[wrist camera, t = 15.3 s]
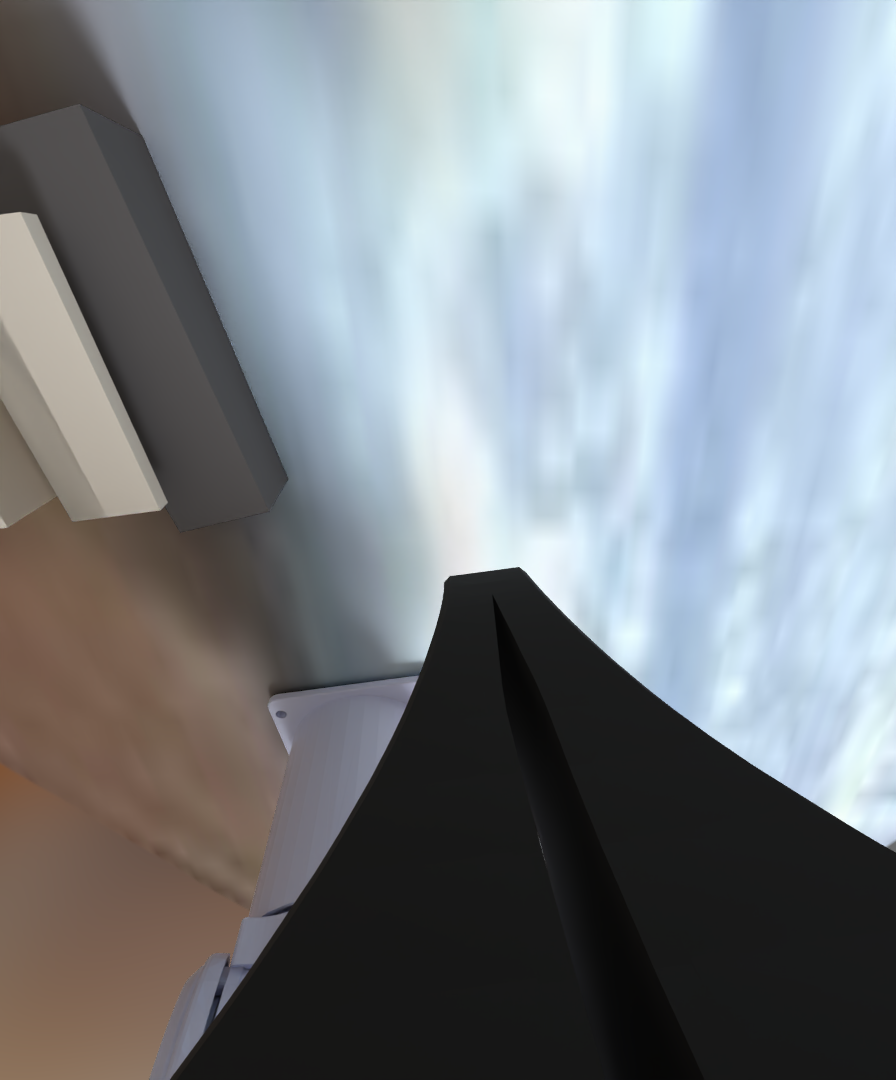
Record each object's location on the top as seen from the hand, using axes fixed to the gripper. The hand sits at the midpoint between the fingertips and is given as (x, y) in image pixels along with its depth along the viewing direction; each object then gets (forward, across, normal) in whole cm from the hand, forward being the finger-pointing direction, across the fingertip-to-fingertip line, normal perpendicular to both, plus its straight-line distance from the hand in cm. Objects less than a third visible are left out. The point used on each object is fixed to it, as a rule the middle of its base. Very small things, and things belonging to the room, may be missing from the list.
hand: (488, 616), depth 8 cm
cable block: (+10, +8, -4) cm, 14 cm away
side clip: (+10, +10, -4) cm, 15 cm away
